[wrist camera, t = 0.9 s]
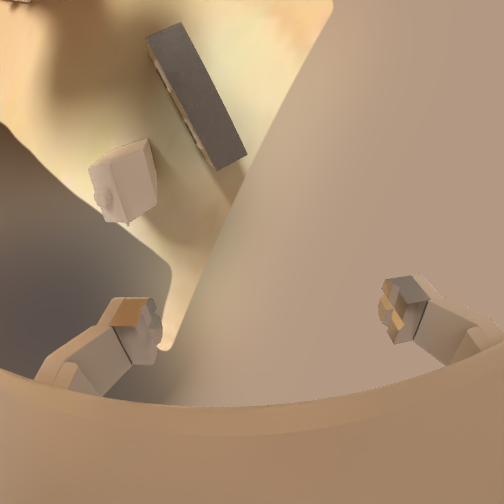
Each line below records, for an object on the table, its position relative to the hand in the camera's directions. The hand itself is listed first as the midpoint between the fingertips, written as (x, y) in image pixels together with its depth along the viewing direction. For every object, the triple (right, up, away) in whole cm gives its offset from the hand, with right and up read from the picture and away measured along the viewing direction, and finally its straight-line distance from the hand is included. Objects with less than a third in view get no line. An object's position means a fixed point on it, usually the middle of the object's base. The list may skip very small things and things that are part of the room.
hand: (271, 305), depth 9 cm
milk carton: (-21, +17, +32) cm, 42 cm away
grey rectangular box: (-11, +27, +30) cm, 41 cm away
